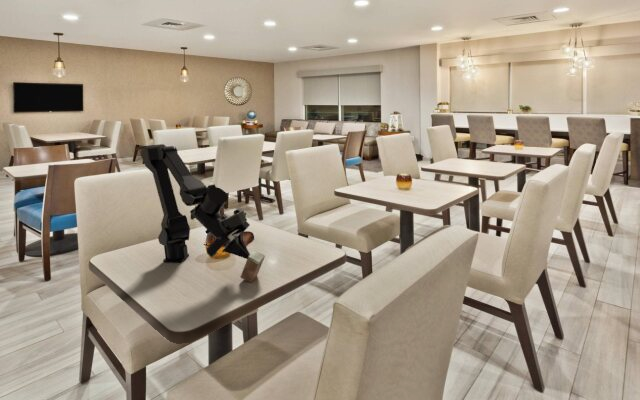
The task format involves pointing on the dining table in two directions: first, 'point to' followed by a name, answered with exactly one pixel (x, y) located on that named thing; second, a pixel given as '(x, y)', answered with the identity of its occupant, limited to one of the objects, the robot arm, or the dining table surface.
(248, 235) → the sunglasses case
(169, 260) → the robot arm
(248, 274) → the walnut block
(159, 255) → the dining table surface
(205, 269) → the dining table surface
